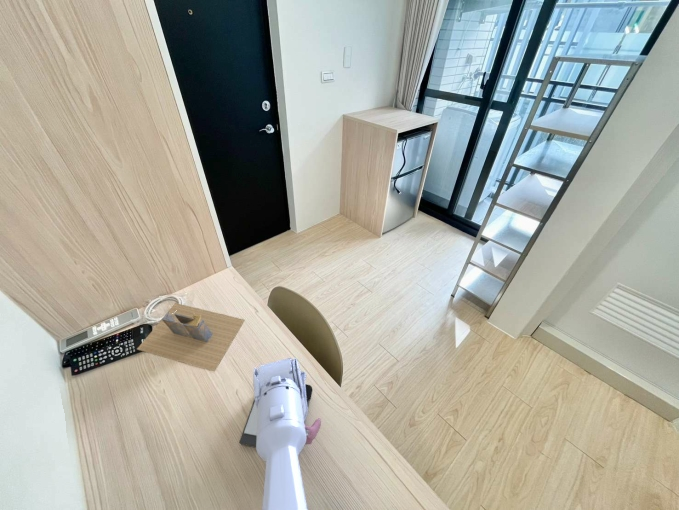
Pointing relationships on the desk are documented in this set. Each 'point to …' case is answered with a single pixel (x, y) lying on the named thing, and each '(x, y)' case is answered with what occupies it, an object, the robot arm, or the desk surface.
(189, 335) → the ruin model on sheet
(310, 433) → the video game controller
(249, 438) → the scale
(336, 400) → the desk surface
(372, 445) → the desk surface
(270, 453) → the robot arm
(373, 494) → the desk surface
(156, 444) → the desk surface
